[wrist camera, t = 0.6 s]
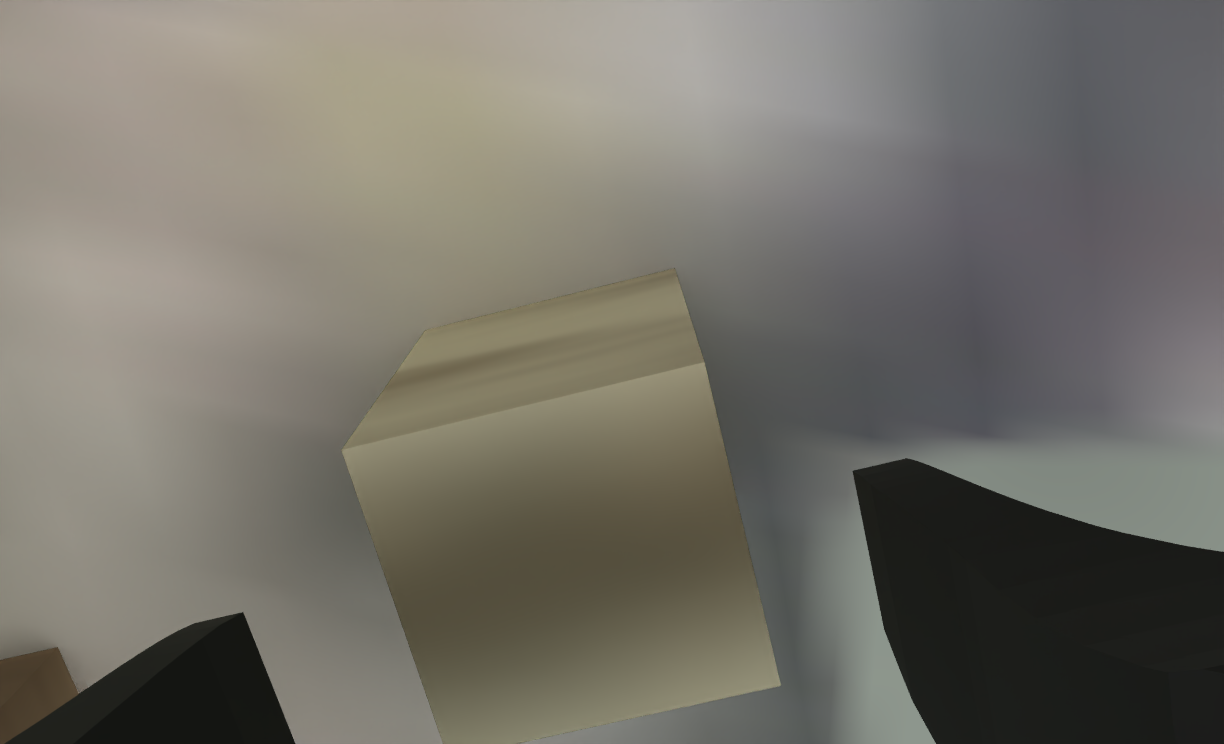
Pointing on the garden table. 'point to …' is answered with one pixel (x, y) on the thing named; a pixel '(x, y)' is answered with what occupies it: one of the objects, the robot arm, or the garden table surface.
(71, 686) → the walnut box
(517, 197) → the garden table surface
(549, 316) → the brass block
